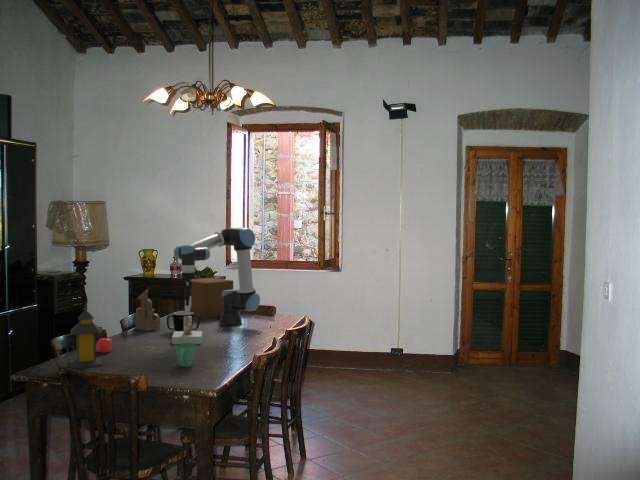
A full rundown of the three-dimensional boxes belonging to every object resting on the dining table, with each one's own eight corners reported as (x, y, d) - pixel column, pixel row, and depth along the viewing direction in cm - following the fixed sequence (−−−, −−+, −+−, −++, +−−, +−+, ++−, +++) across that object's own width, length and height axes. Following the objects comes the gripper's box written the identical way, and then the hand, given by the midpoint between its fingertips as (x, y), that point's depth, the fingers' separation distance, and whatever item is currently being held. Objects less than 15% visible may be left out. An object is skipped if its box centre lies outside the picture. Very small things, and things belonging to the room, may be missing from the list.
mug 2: (177, 363, 294) (177, 342, 294) (197, 363, 295) (197, 343, 294) (170, 370, 280) (170, 349, 279) (192, 371, 280) (192, 349, 280)
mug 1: (177, 336, 358) (177, 316, 357) (164, 331, 370) (164, 312, 369) (201, 333, 369) (201, 313, 368) (188, 328, 381) (188, 310, 380)
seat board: (202, 337, 354) (202, 331, 354) (201, 343, 339) (201, 336, 338) (174, 338, 352) (174, 331, 352) (171, 344, 336) (172, 337, 336)
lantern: (70, 368, 280) (70, 304, 279) (69, 361, 293) (69, 300, 292) (102, 366, 286) (102, 303, 285) (100, 359, 299) (100, 299, 298)
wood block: (184, 314, 435) (184, 279, 434) (212, 310, 453) (212, 277, 452) (205, 318, 418) (205, 283, 417) (233, 314, 436) (233, 280, 435)
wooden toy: (160, 328, 379) (161, 289, 378) (156, 330, 373) (156, 290, 372) (137, 327, 382) (137, 288, 381) (132, 329, 375) (132, 289, 374)
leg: (191, 340, 348) (191, 316, 347) (191, 341, 343) (191, 317, 343) (183, 340, 347) (184, 316, 346) (183, 341, 343) (183, 317, 342)
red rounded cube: (96, 350, 317) (96, 335, 317) (112, 349, 320) (112, 334, 320) (96, 354, 310) (97, 338, 309) (113, 353, 313) (113, 337, 313)
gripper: (182, 269, 355) (182, 305, 356) (179, 274, 331) (179, 313, 332) (195, 269, 356) (195, 305, 358) (193, 274, 332) (193, 312, 333)
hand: (188, 309), depth 345 cm, fingers open, 13 cm apart
